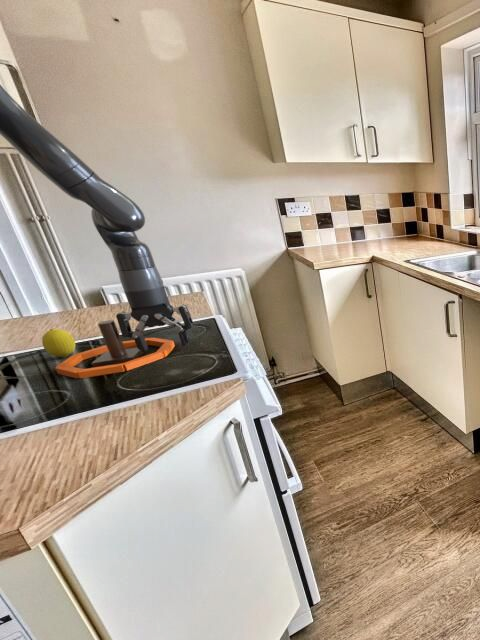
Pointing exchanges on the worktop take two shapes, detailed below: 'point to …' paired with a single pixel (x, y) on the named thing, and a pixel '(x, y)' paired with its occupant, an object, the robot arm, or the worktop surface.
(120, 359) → the post
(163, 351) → the ring
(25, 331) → the worktop surface
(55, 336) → the lemon
